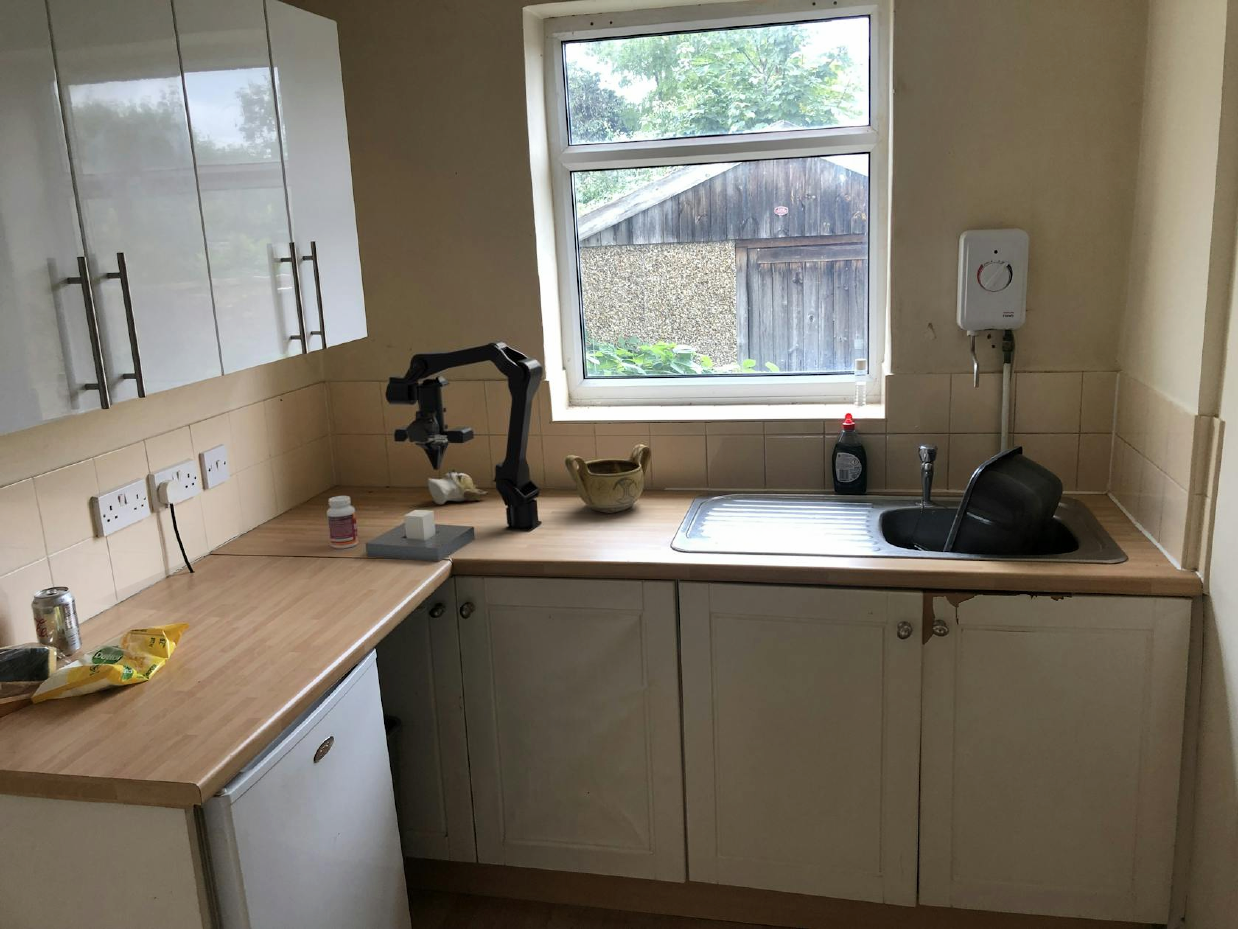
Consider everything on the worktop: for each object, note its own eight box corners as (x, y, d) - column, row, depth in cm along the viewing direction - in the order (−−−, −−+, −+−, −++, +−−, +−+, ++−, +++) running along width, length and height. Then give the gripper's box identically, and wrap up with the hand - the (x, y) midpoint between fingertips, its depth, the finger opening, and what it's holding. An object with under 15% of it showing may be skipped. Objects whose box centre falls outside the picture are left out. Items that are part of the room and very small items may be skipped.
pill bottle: (362, 545, 225) (357, 498, 223) (335, 551, 222) (330, 503, 219) (353, 539, 230) (348, 493, 228) (327, 544, 227) (321, 498, 224)
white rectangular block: (436, 545, 223) (433, 510, 221) (425, 551, 218) (422, 516, 217) (418, 544, 224) (415, 509, 222) (407, 550, 220) (404, 515, 218)
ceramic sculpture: (421, 468, 258) (476, 463, 265) (422, 500, 260) (476, 494, 267) (434, 476, 249) (490, 471, 256) (435, 510, 251) (491, 503, 258)
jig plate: (475, 539, 225) (473, 526, 225) (438, 562, 211) (437, 548, 210) (406, 534, 232) (405, 522, 231) (366, 556, 217) (365, 543, 216)
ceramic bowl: (587, 525, 231) (583, 462, 228) (554, 509, 246) (550, 450, 242) (667, 508, 242) (665, 448, 239) (632, 494, 257) (629, 437, 253)
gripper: (377, 410, 230) (384, 476, 233) (448, 412, 223) (454, 479, 227) (403, 402, 240) (409, 465, 243) (472, 403, 233) (477, 468, 237)
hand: (436, 469), depth 237 cm, fingers closed
